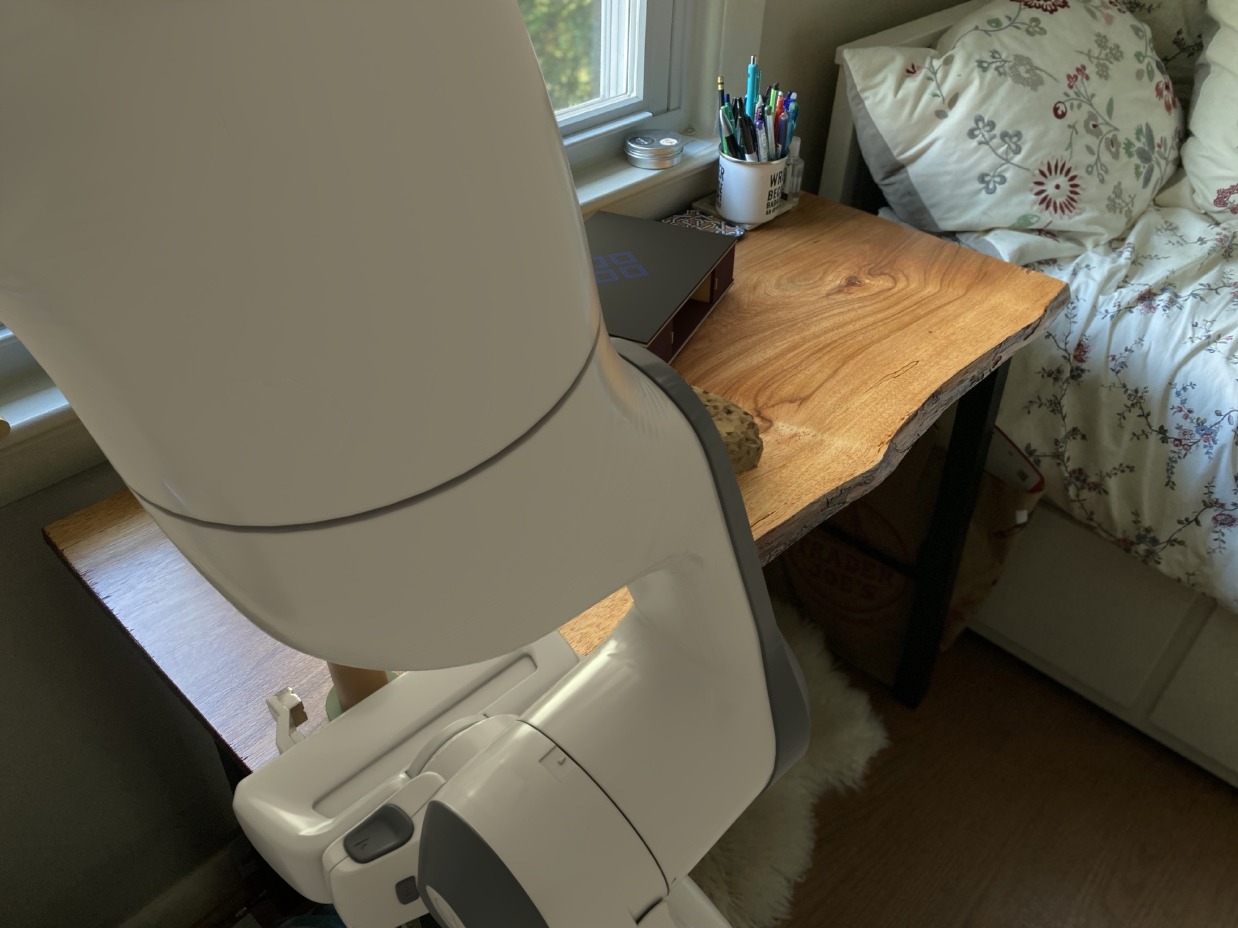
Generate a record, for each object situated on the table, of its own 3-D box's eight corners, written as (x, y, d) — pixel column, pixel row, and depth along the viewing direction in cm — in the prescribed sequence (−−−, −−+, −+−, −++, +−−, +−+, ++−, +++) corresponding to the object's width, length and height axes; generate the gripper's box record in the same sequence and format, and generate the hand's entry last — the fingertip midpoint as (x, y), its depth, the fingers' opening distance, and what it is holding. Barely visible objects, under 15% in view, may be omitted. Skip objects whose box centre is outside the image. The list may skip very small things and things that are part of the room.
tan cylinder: (361, 773, 58) (322, 647, 51) (319, 725, 61) (277, 599, 54) (427, 726, 61) (399, 600, 54) (384, 682, 64) (352, 556, 56)
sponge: (523, 448, 86) (674, 518, 73) (520, 367, 83) (676, 424, 70) (629, 416, 94) (783, 474, 81) (629, 341, 91) (789, 387, 78)
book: (733, 290, 108) (738, 236, 104) (646, 402, 90) (647, 343, 86) (599, 261, 114) (598, 209, 109) (492, 361, 96) (486, 304, 92)
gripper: (626, 655, 53) (478, 537, 61) (305, 902, 42) (174, 719, 50) (625, 722, 57) (487, 603, 65) (332, 964, 46) (207, 786, 54)
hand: (348, 655), depth 57 cm, fingers open, 8 cm apart
